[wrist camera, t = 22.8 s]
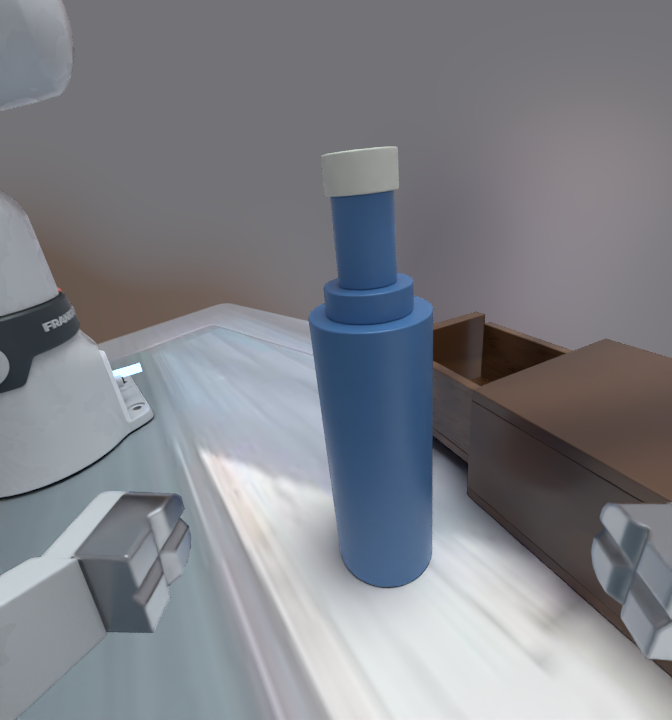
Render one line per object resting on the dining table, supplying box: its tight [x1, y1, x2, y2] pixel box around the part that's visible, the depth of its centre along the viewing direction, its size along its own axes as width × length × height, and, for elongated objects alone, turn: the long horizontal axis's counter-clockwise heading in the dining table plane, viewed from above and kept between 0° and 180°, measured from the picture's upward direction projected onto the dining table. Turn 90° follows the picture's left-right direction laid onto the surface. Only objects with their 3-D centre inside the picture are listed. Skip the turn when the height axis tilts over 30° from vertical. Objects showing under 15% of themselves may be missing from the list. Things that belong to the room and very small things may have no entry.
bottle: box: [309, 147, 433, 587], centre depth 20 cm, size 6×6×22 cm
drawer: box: [433, 312, 572, 463], centre depth 34 cm, size 18×11×7 cm, turn 25°
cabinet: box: [467, 339, 672, 676], centre depth 22 cm, size 15×13×9 cm
